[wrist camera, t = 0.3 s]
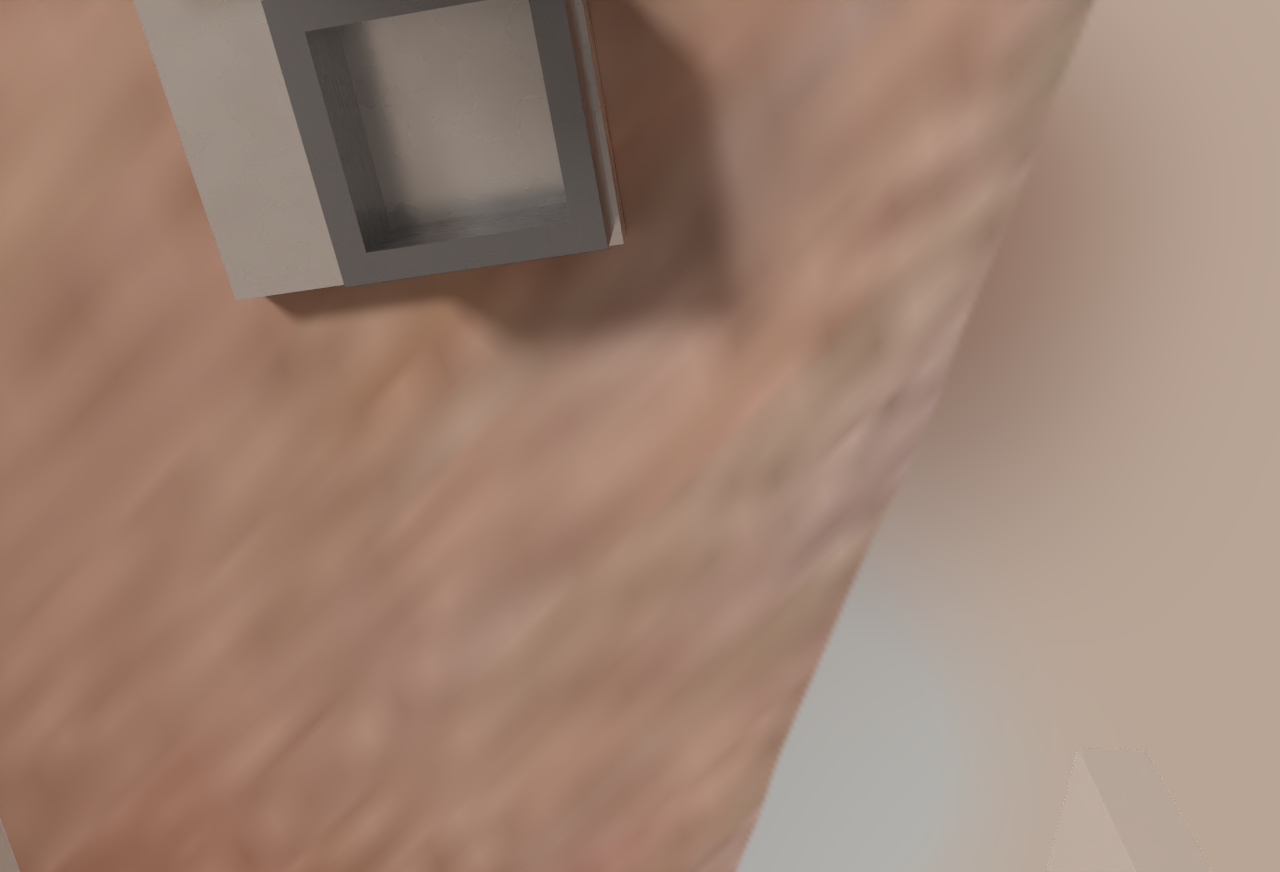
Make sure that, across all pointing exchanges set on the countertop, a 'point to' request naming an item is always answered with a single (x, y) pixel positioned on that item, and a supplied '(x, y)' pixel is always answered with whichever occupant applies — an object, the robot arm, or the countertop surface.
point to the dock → (388, 134)
